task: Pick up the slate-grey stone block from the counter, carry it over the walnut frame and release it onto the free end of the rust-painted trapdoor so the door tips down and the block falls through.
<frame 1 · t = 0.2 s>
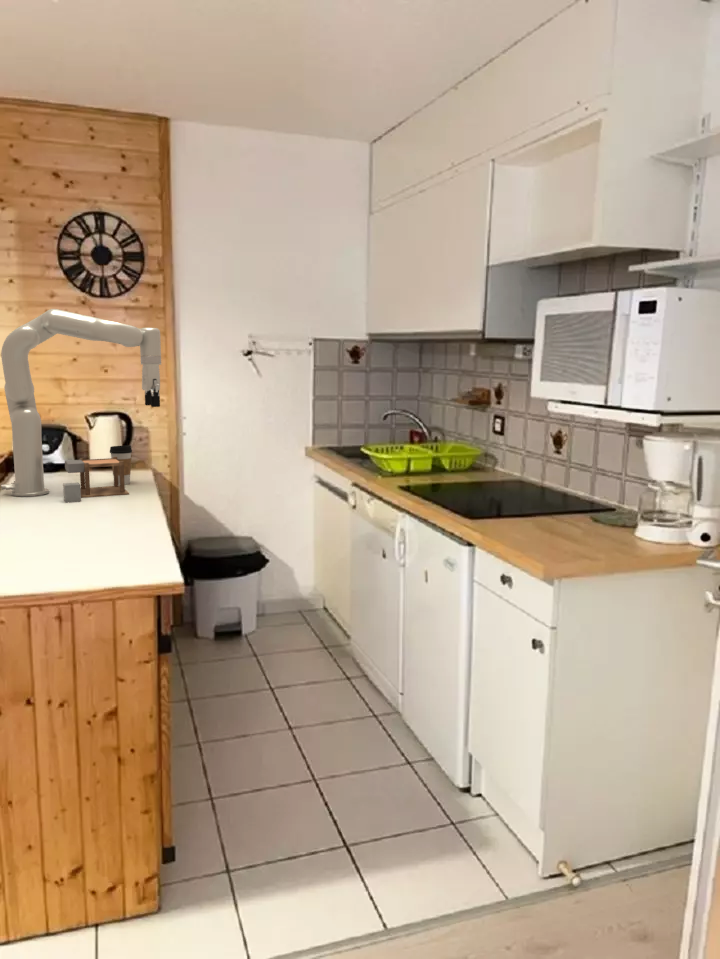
hand: (152, 406, 286), 31 cm above the countertop, fingers open, 9 cm apart
coffee cup: (122, 483, 295), on the countertop
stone: (72, 501, 259), on the countertop
frame: (85, 493, 273), on the countertop
trapdoor: (92, 465, 273), point 10 cm above the countertop, hinge at 0.0°
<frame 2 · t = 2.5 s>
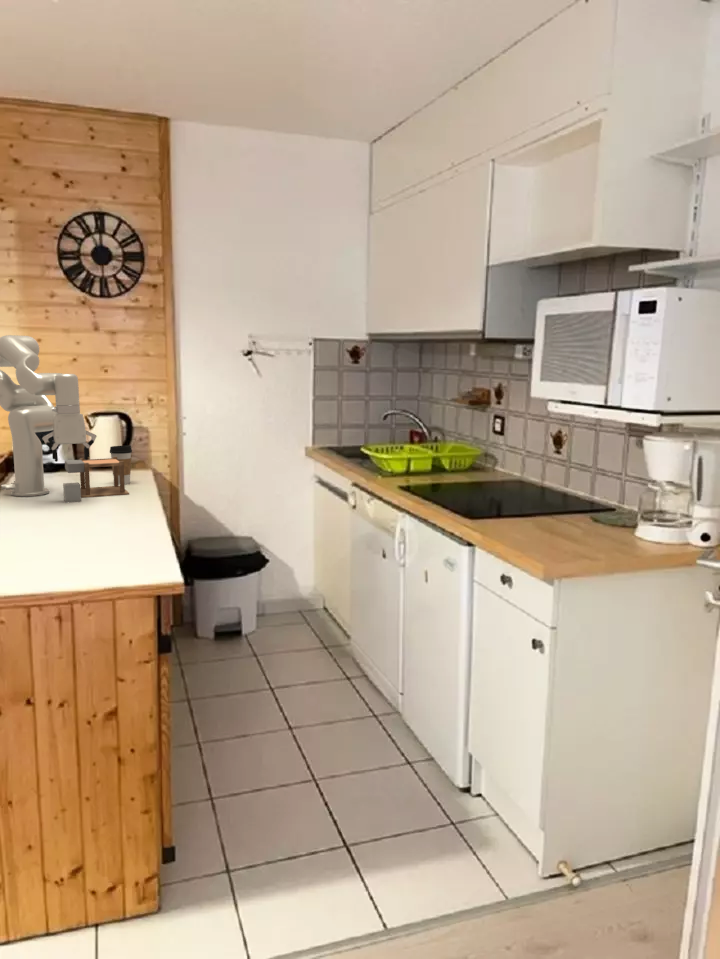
hand: (71, 460, 256), 14 cm above the countertop, fingers open, 9 cm apart
nothing on the countertop moved.
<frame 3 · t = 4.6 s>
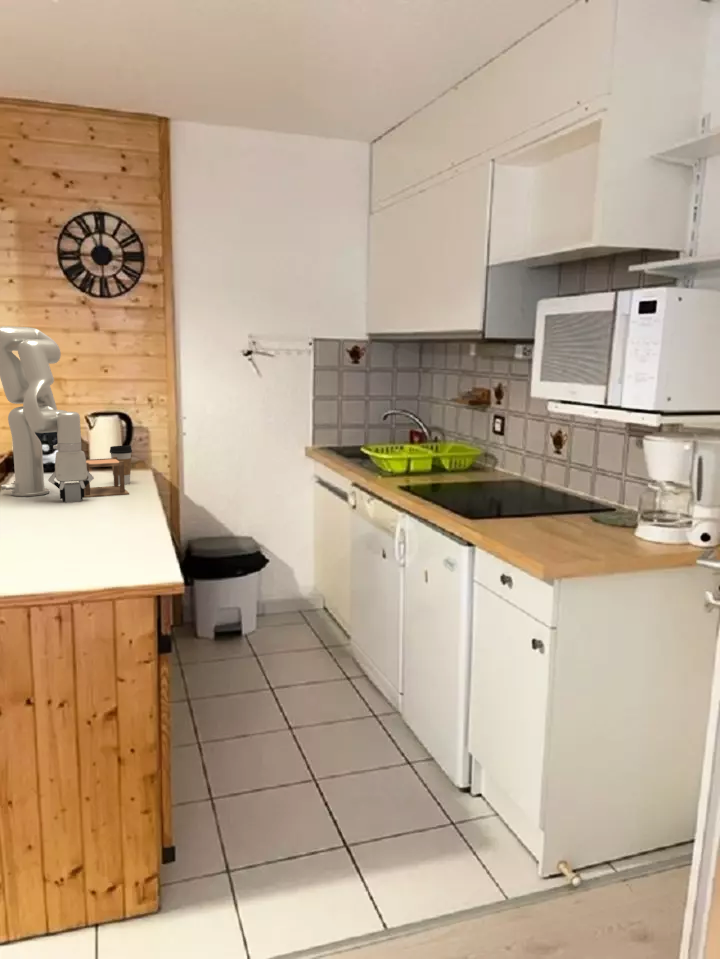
hand: (72, 499, 259), 0 cm above the countertop, fingers closed on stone, 5 cm apart
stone: (72, 500, 259), on the countertop, touching gripper
everything else where it was.
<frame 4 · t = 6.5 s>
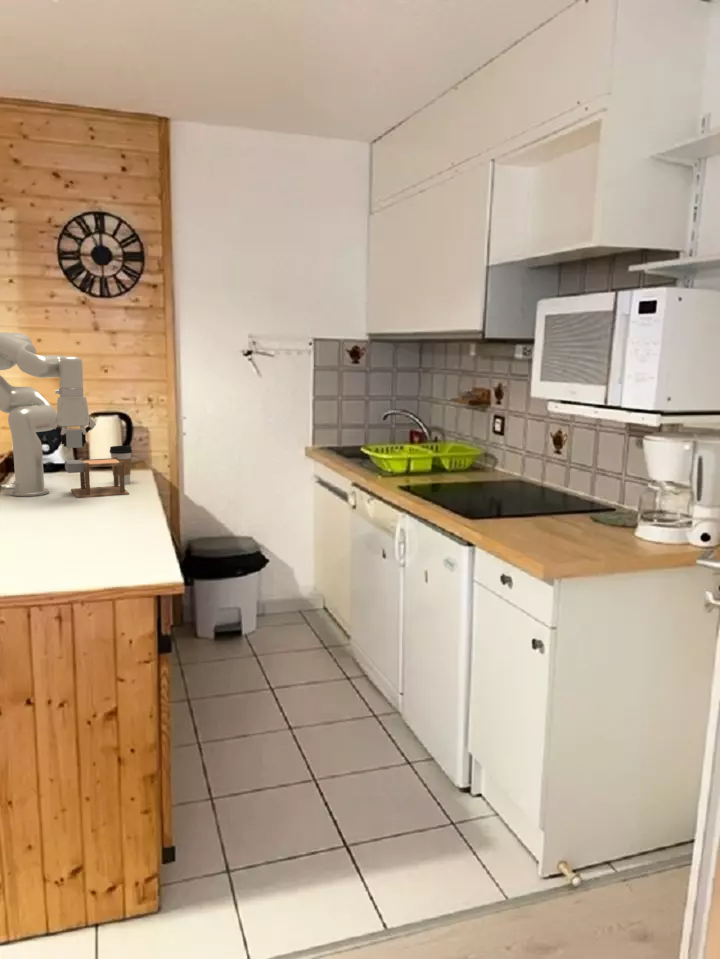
hand: (73, 445, 258), 19 cm above the countertop, fingers closed on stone, 5 cm apart
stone: (73, 446, 258), point 19 cm above the countertop, touching gripper
everything else where it was.
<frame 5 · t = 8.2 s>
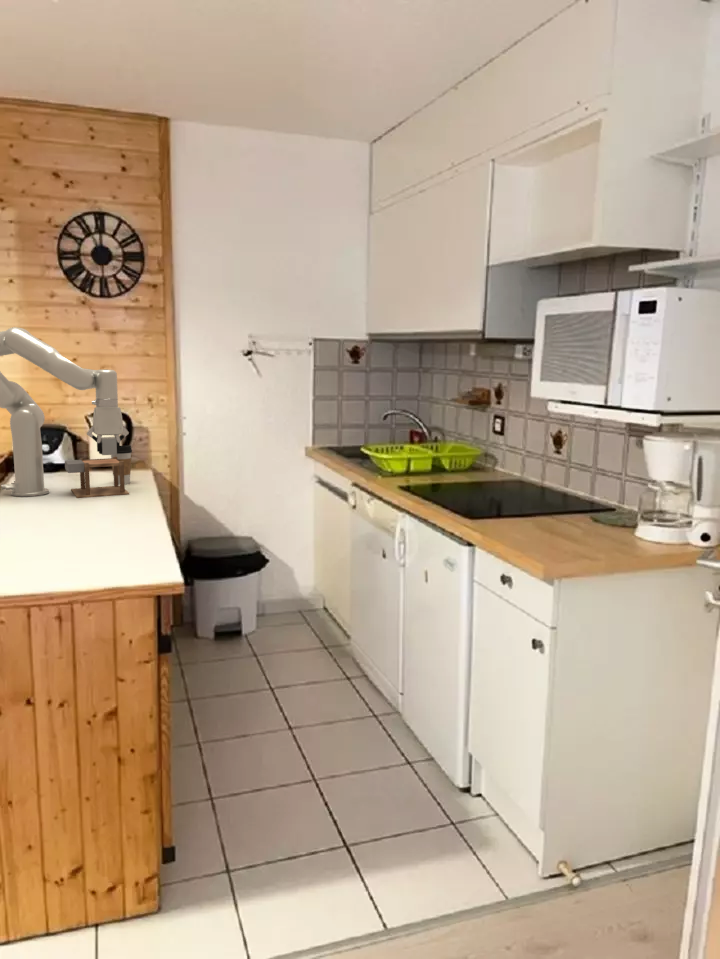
hand: (108, 452, 275), 15 cm above the countertop, fingers closed on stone, 5 cm apart
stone: (108, 454, 275), point 14 cm above the countertop, touching gripper
everything else where it was.
when the fingers open (15 cm above the countertop, at t = 8.5 s): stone drops 8 cm and tips over, point 6 cm above the countertop.
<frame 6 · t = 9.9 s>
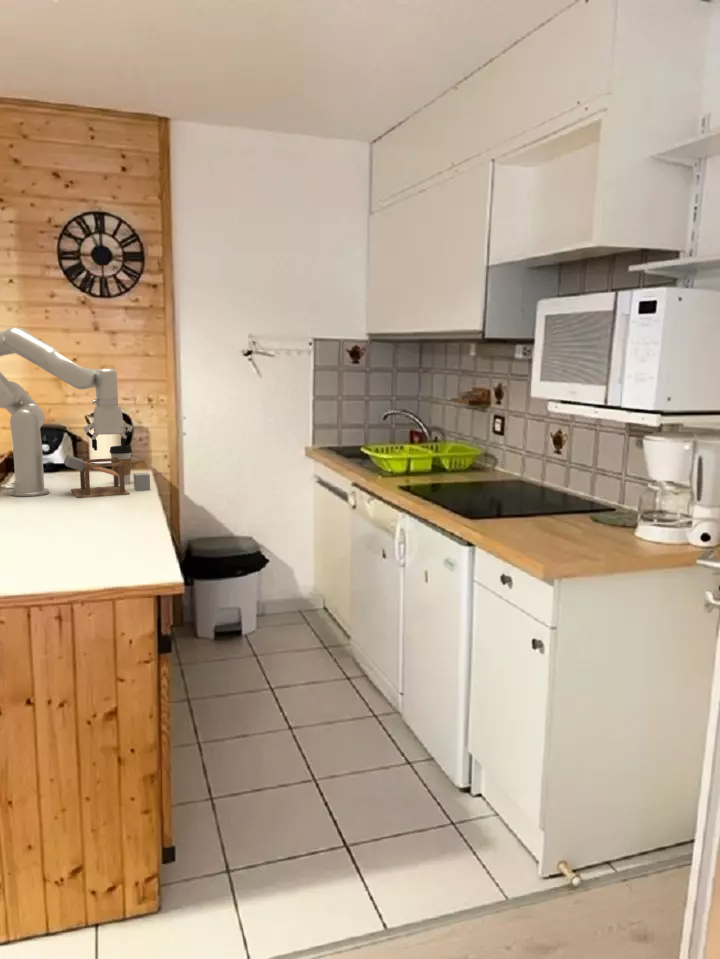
hand: (109, 449, 275), 16 cm above the countertop, fingers open, 9 cm apart
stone: (141, 474, 281), point 6 cm above the countertop, tilted 180°
trapdoor: (91, 468, 273), point 9 cm above the countertop, hinge at -21.9°
everything else where it was.
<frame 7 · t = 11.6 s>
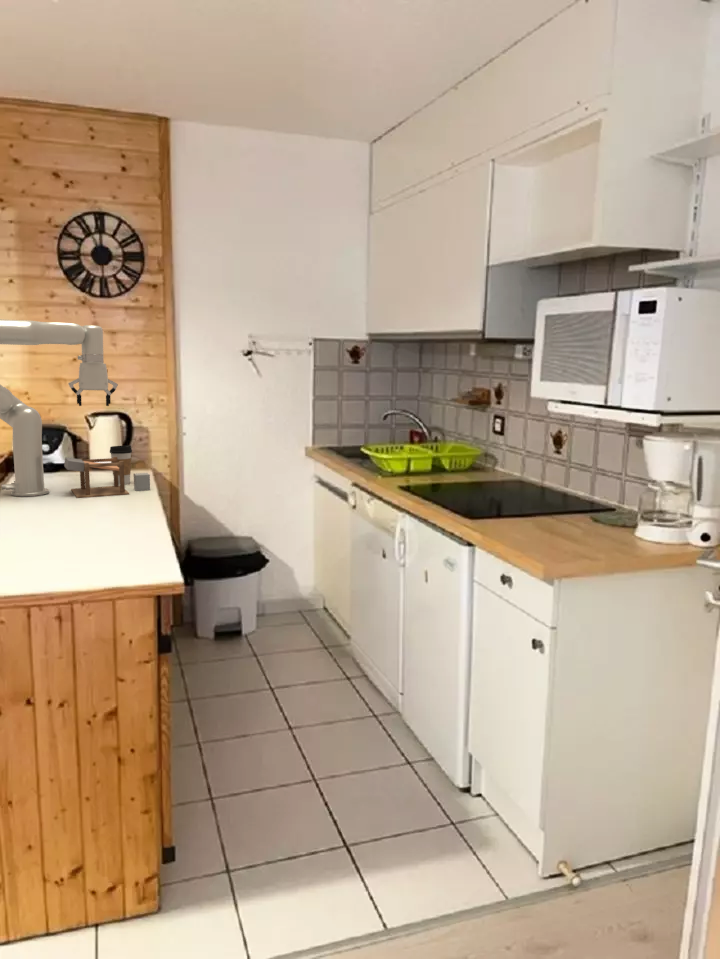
hand: (93, 405, 279), 31 cm above the countertop, fingers open, 9 cm apart
trapdoor: (92, 466, 273), point 10 cm above the countertop, hinge at -11.2°
everything else where it was.
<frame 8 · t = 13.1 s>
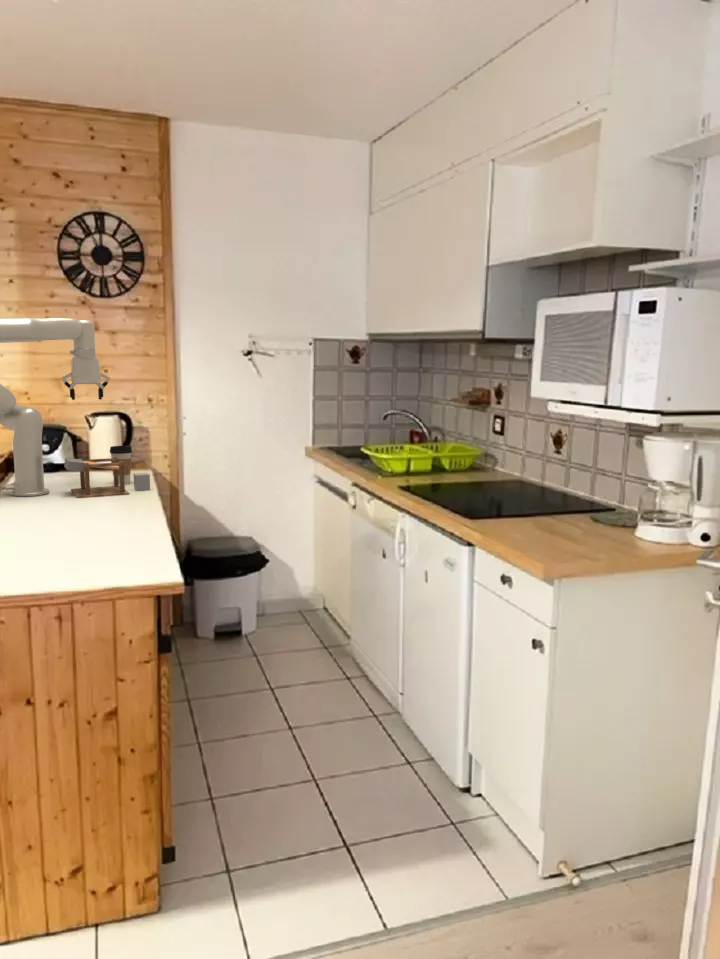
hand: (86, 399, 283), 33 cm above the countertop, fingers open, 9 cm apart
trapdoor: (92, 466, 273), point 10 cm above the countertop, hinge at -9.5°
everything else where it was.
at the end: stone inside the target area (10.8 cm from its centre), point 5.9 cm above the countertop; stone moved 29.8 cm from its start; the gripper is holding nothing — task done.
